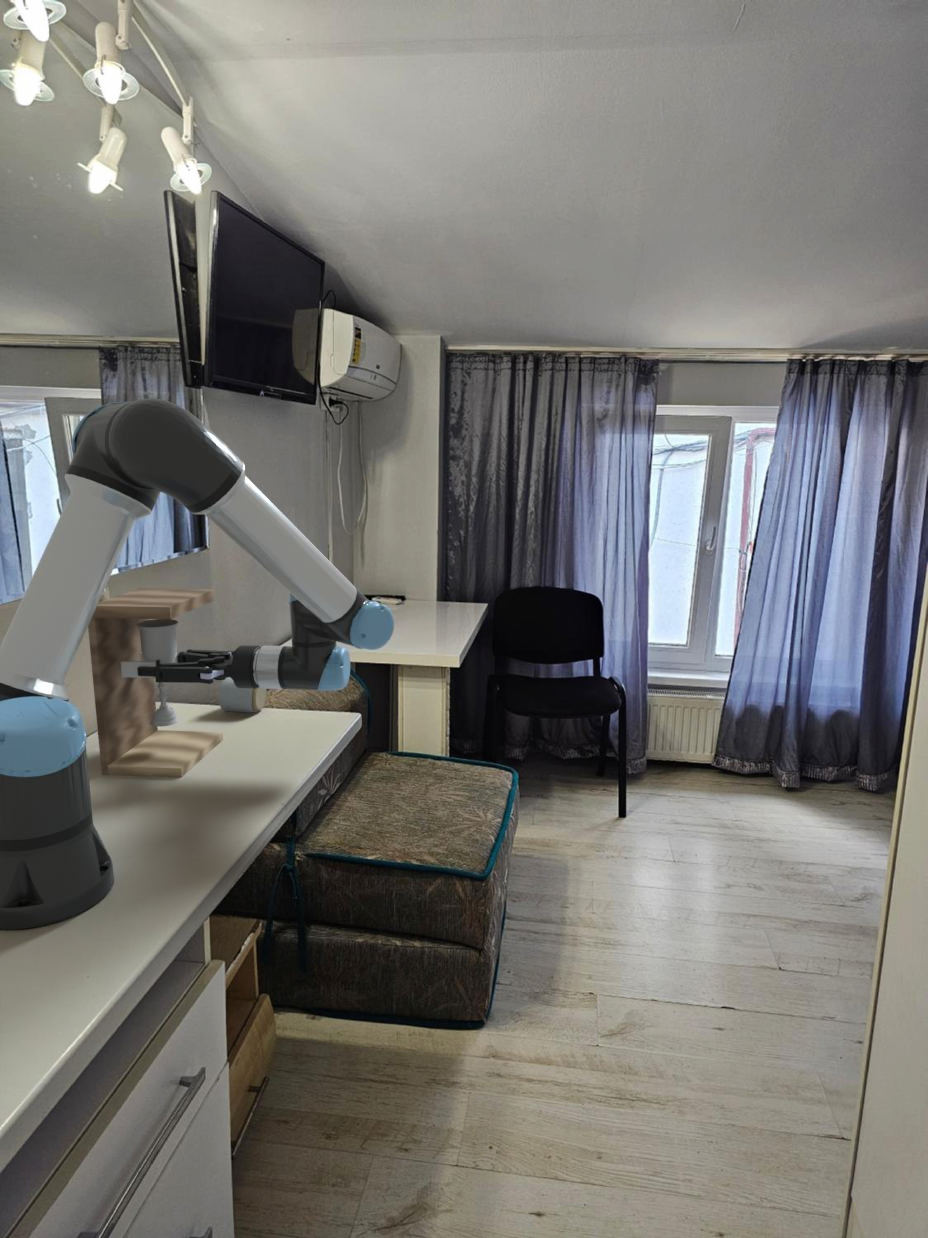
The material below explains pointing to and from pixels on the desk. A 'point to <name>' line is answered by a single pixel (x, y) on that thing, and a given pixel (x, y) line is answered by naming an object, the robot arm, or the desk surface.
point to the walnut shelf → (139, 687)
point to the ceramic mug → (240, 697)
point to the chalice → (163, 647)
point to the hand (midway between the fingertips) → (132, 664)
